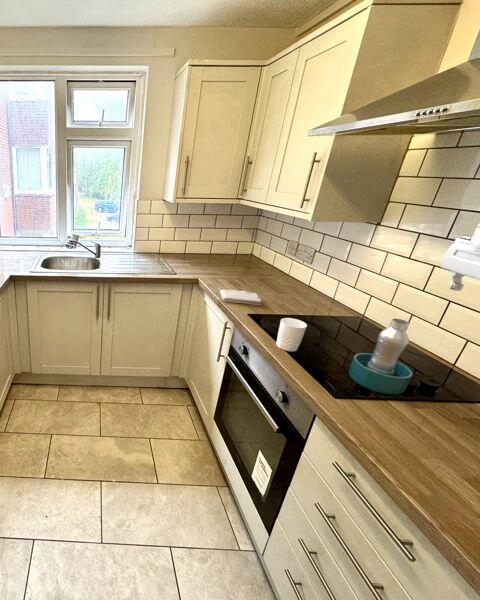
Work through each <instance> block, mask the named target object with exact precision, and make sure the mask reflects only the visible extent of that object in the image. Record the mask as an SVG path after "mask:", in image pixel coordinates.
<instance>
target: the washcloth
mask: <svg viewBox="0 0 480 600" xmlns="http://www.w3.org/2000/svg"><path fill="white" fill-rule="evenodd" d="M219 294H220V296H221V299H222V301H223V302H226V303H235V304H245V305H251V306H261V305H262V302H263V300H262V299H261V298H260V296H259V294H257V293H256V292H249V291H246V290H236V289H220V290H219Z"/></svg>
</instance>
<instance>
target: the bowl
mask: <svg viewBox="0 0 480 600" xmlns="http://www.w3.org/2000/svg"><path fill="white" fill-rule="evenodd" d="M373 354H374V353H369V352H360V353H356V354H355V355H354V356H353V358H352V360H351V363H350V364H349V368H348V372H347V373H348V376H349V377H350V378H351V379H352V380H353V382H355V383H357V384H359V385H360V386H362V387H364V388H366V389H368V390H371V391H373V392H377V393H380V394H385V395H401V394H402V393H404V392H405V391H406V389H407V388H408V385H409V383H410V382H411V380H412V377H413V375H414V374H413V371H412V370H411V369H410V368H409V367H408V366H406V365H405V364H403V363H401V362H399V361H398V360H397V361H396V365H395V368H394V373H393V376H388V375H385V374H381V373H378V372H376V371H373V370H371V369H369V368H367V367H365V366H366V365H367V363H368V362H369V361H370V359H371V358H372V356H373Z"/></svg>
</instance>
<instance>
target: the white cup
mask: <svg viewBox="0 0 480 600" xmlns="http://www.w3.org/2000/svg"><path fill="white" fill-rule="evenodd" d="M307 327H308V325H307V323H306V322H304V321H302V320H300V319H297V318H292V317H284V318H281V319H280V322H279V327H278V332H277V338H276V342H275V346H276V347H277V348H278V349H281V350H283V351H287V352H297V351H298V350H299V347H300V345H301V343H302V340H303V338H304V335H305V332H306V330H307Z"/></svg>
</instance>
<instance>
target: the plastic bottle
mask: <svg viewBox="0 0 480 600" xmlns="http://www.w3.org/2000/svg"><path fill="white" fill-rule="evenodd" d="M409 325H410V322H409V321H407V320H404V319H402V318H392V319H391V321H390V323H389V327H386V328H384V329H383V330H381V331H379V333H378V337H377V340H376V346H375V348H374V351H373V353H372V354H373V356H372V358H371V359H370V361H369V362H368V363H367V365H366V366H365V367H367V368H369V369H371V370H373V371H376V372H378V373H381V374H385V375H388V376H393V373H394V368H395V365H396V361H397V362H398V359H399V357H400V356H401V354H402V353H403V352H404V350H405V348H406V347H407V346H408V345H409V342H410V338H409V335H408V333H407V331H408V329H409Z"/></svg>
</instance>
